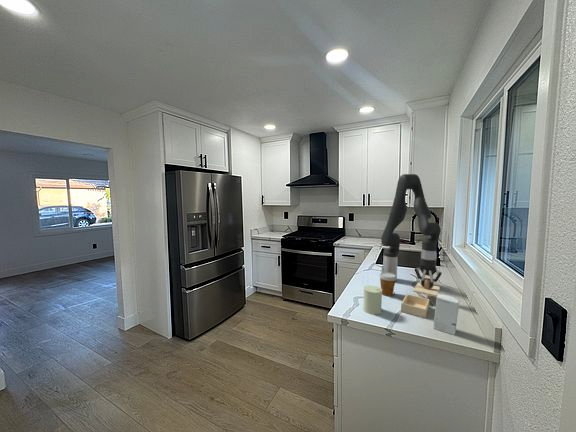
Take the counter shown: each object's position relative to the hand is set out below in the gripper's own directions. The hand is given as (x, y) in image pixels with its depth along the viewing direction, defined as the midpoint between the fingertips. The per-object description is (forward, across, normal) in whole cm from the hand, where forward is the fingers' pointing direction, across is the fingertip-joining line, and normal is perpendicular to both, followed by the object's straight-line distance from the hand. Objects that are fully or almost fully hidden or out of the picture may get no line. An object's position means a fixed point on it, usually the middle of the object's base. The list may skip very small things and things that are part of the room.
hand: (427, 287), depth 136 cm
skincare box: (+8, +11, -29) cm, 32 cm away
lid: (+2, 0, 0) cm, 2 cm away
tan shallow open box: (+7, -3, -17) cm, 19 cm away
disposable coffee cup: (+7, -20, -6) cm, 22 cm away
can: (+8, -21, -31) cm, 38 cm away
